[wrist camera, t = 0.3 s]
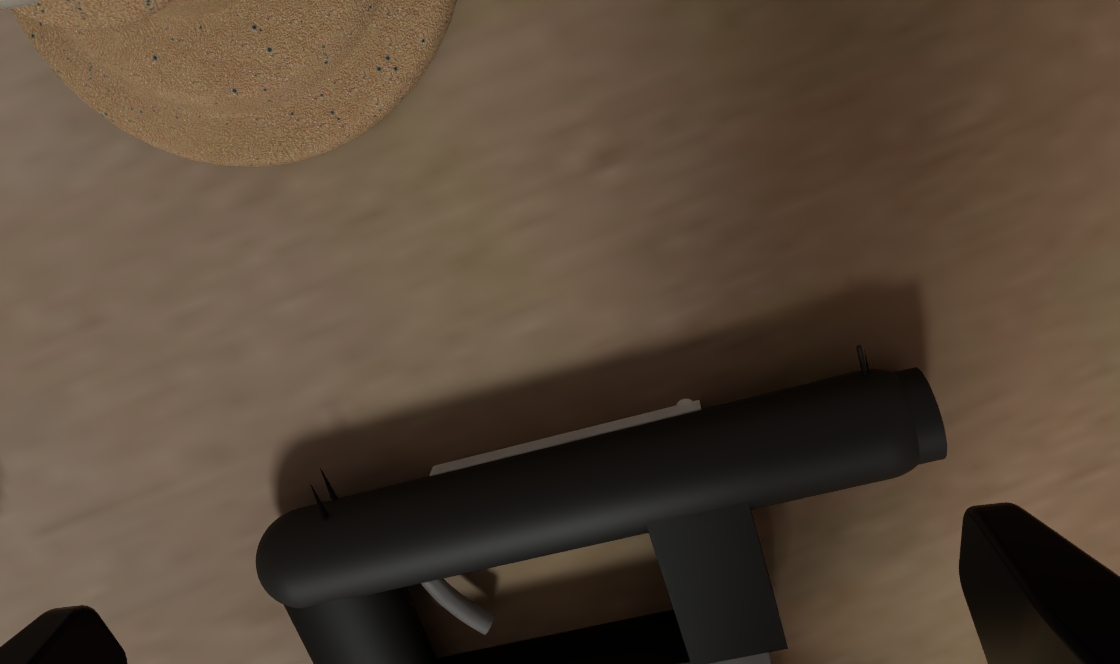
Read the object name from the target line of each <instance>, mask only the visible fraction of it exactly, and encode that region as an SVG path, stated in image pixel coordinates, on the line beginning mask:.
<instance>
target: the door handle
mask: <svg viewBox="0 0 1120 664" xmlns="http://www.w3.org/2000/svg"><path fill="white" fill-rule="evenodd" d="M857 352H858V357H859V361H860V366H861V371H857V372H853V373H849V374H845V375H841V376H837V377H833V378H828V379H824V380H820V381H816V382H812V383H808V384H804V385H800V386H796V387H792V388H788V389H784V390H780V391H776V392H771V393H767V394H763V395H759V396H755V397H751V398H747V399H743V400H739V401H735V402H731V403H727V404H723V405H719V406H714V407H710V408H706V409H702V408H701V404H700V401H699V400H696V401H692V400H690V399H682V400H680V401H679V402H678V403H677V404H676V406H672V407H668V408H664V409H660V410H656V411H652V412H648V413H644V414H640V415H636V416H632V417H628V418H624V419H620V420H616V421H612V422H608V423H604V424H600V425H596V426H592V427H588V428H584V429H580V430H576V431H571V432H567V433H563V434H559V435H555V436H551V437H547V438H543V439H539V440H535V441H531V442H527V443H523V444H519V445H515V446H511V447H507V448H503V449H499V450H495V451H491V452H487V453H483V454H479V455H475V456H471V457H467V458H463V459H459V460H455V461H451V462H447V463H443V464H439V465H435V466H433V468H432V470H431V472H430V477H425V478H421V479H417V480H413V481H409V482H405V483H401V484H397V485H393V486H389V487H385V488H381V489H377V490H373V491H368V492H364V493H360V494H356V495H352V496H348V497H344V498H340V499H338V498H337V496H336V494H335V492H334V491H333V489H332V487H331V486H330V484H329V482H328V480H327V479H326V477H325V475H324V473H323V472H322V470H321V472H322V475H323V477H324V480H325V483H326V486H327V489H328V491H329V494H330V497H331V500H332V501H328V502H324V503H322V502H321V501H320V499H319V497H318V496H317V494H316V492H315V491H314V489H313V487H312V485H311V487H312V490H313V493H314V495H315V498H316V501H317V504H316V505H311V506H307V507H303V508H299V509H296V510H292V511H290V512H288V513H286V514H284V515H282V516H281V517H279V518H278V519H277V520H275V521H274V522H273V523H272V524H271V525H270V526H269V527H268V529H267V530H266V531H265V533H264V534H263V536H262V538H261V540H260V543H259V545H258V549H257V554H256V570H257V574H258V577H259V580H260V582H261V584H262V586H263V588H264V589H265V590H266V592H267V593H268V594H269V595H270V596H271V597H272V598H274V599H275V600H276V601H278V602H280V603H282V604H284V606H285V608H286V610H287V612H288V614H289V616H290V618H291V620H292V622H293V624H294V626H295V628H296V630H297V632H298V634H299V636H300V638H301V640H302V642H303V644H304V646H305V648H306V650H307V652H308V653H309V655H310V657H311V659H312V661H313V663H314V664H711V663H714V664H773V662H772V658H771V654H770V652H773V651H778V650H783V649H788V647H787V643H786V639H785V635H784V632H783V628H782V624H781V620H780V616H779V612H778V609H777V605H776V601H775V597H774V593H773V590H772V586H771V582H770V579H769V575H768V571H767V568H766V564H765V560H764V557H763V553H762V549H761V545H760V542H759V538H758V534H757V531H756V527H755V523H754V520H753V516H752V512H751V510H752V509H757V508H761V507H766V506H770V505H775V504H779V503H784V502H788V501H793V500H797V499H802V498H806V497H811V496H815V495H820V494H824V493H829V492H833V491H838V490H842V489H846V488H851V487H855V486H860V485H864V484H869V483H873V482H878V481H882V480H887V479H891V478H895V477H898V476H901V475H903V474H905V473H907V472H909V471H911V470H912V469H913V468H915V467H916V466H917V465H918V464H923V463H927V462H932V461H936V460H941V459H944V458H945V457H946V455H947V441H946V435H945V430H944V425H943V421H942V417H941V414H940V411H939V408H938V405H937V402H936V399H935V397H934V394H933V392H932V390H931V387H930V385H929V383H928V381H927V380H926V378H925V376H924V375H923V373H922V372H921V371H920V370H919V369H918V368H916V367H914V368H910V369H906V370H902V371H898V372H894V373H893V372H890V371H886V370H878V369H869V366H868V362H867V358H866V355H865V359H866V366H867V370H866V367H865V362H864V357H863V352H862V347H861V346H860V345H858V346H857ZM864 352H865V351H864ZM320 469H321V468H320ZM644 533H649V534H650V538H651V541H652V544H653V547H654V550H655V553H656V556H657V559H658V562H659V566H660V569H661V572H662V575H663V578H664V581H665V584H666V587H667V590H668V593H669V597H670V600H671V603H672V606H673V609H674V610H671V611H666V612H661V613H656V614H651V615H646V616H642V617H637V618H632V619H627V620H622V621H617V622H612V623H607V624H603V625H598V626H593V627H588V628H583V629H578V630H573V631H569V632H564V633H559V634H554V635H549V636H544V637H539V638H534V639H530V640H525V641H520V642H515V643H510V644H505V645H500V646H496V647H491V648H486V649H481V650H476V651H471V652H466V653H461V654H457V655H452V656H447V657H442V658H436V656H435V654H434V651H433V649H432V647H431V645H430V642H429V640H428V638H427V636H426V633H425V631H424V629H423V627H422V624H421V622H420V620H419V618H418V616H417V613H416V611H415V609H414V607H413V604H412V602H411V600H410V598H409V595H408V593H407V591H406V589H405V587H406V586H411V585H415V584H420V583H421V584H422V586H423V587H424V588H425V589H426V591H427V592H428V593H429V594H430V595H431V596H432V597H433V598H434V599H435V600H436V601H437V602H438V603H439V604H440V605H441V606H443V607H444V608H445V609H446V610H447V611H449V612H450V613H451V614H452V615H454V616H455V617H456V618H458V619H459V620H461V621H462V622H464V623H465V624H467V625H468V626H470V627H472V628H473V629H475V630H477V631H478V632H480V633H482V634H484V635H485V634H486V633H487V632H488V631H489V629H490V627H491V625H492V623H493V620H494V616H495V615H494V614H492V613H490V612H488V611H486V610H485V609H483V608H481V607H480V606H478V605H476V604H475V603H473V602H472V601H470V600H469V599H467V598H466V597H465V596H463V595H462V594H461V593H459V592H458V591H457V590H456V589H454V588H453V587H452V586H451V585H450V584H449V583H447V582H446V581H445V580H444V579H443V578H447V577H451V576H456V575H460V574H465V573H469V572H474V571H478V570H483V569H487V568H492V567H496V566H501V565H505V564H510V563H514V562H519V561H523V560H528V559H532V558H537V557H541V556H546V555H550V554H555V553H559V552H564V551H568V550H573V549H577V548H582V547H586V546H591V545H595V544H600V543H604V542H609V541H613V540H617V539H622V538H626V537H631V536H635V535H640V534H644Z"/></svg>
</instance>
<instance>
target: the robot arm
mask: <svg viewBox="0 0 1120 664" xmlns="http://www.w3.org/2000/svg"><path fill="white" fill-rule="evenodd" d="M959 576H960V582H961V586H962V590H963V593H964V596H965V599H966V602H967V605H968V607H969V610H970V613H971V616H972V619H973V622H974V625H975V628H976V631H977V633H978V636H979V639H980V642H981V645H982V648H983V651H984V654H985V657H986V659H987V662H988V664H1120V576H1118V575H1117V574H1115V573H1114V572H1113V571H1111V570H1110V569H1108V568H1107V567H1105V566H1104V565H1103V564H1101V563H1100V562H1098V561H1097V560H1095V559H1094V558H1092V557H1091V556H1090V555H1088V554H1087V553H1085V552H1084V551H1082V550H1081V549H1080V548H1078V547H1077V546H1075V545H1074V544H1072V543H1071V542H1070V541H1068V540H1067V539H1065V538H1064V537H1062V536H1061V535H1060V534H1058V533H1057V532H1055V531H1054V530H1052V529H1051V528H1050V527H1048V526H1047V525H1045V524H1044V523H1042V522H1041V521H1040V520H1038V519H1037V518H1035V517H1034V516H1032V515H1031V514H1030V513H1028V512H1027V511H1025V510H1024V509H1022V508H1021V507H1019V506H1017V505H1015V504H1012V503H996V504H987V505H978V506H972V507H970V508H968V509H967V510H966V512H965V514H964V517H963V525H962V536H961V548H960V559H959ZM0 664H127V658H126V654H125V652H124V650H123V648H122V647H121V645H120V644H119V643H118V641H117V640H116V638H115V637H114V636H113V634H112V633H111V631H110V630H109V629H108V627H107V626H106V624H105V623H104V622H103V620H102V619H101V617H100V616H99V614H98V613H97V612H96V611H95V610H94V609H93V608H91V607H89V606H84V605H80V606H71V607H62V608H55V609H52V610H49V611H47V612H45V613H43V614H42V615H40V616H39V617H38V618H37V619H35V620H34V621H33V622H32V623H30V624H29V625H28V626H26V627H25V628H24V629H23V630H21V631H20V632H19V633H18V634H16V635H15V636H14V637H13V638H11V639H10V640H9V641H7V642H6V643H5V644H4V645H2V646H1V647H0Z"/></svg>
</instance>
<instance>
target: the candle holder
mask: <svg viewBox="0 0 1120 664" xmlns="http://www.w3.org/2000/svg"><path fill="white" fill-rule="evenodd" d="M456 1H457V0H0V10H2V9H8V8H11V10H12V12H13V14H14V15H15V17H16V18H17V20H18V22H19V23H20V25H21V27H22V28H23V30H24V31H25V33H26V35H27V36H28V38H29V40H30V41H31V43H32V44H33V46H34V47H35V49H36V50H37V51H38V52H39V54H40V55H41V56H42V57H43V58H44V60H45V61H46V62H47V63H48V65H49V66H50V67H51V68H52V70H53V71H54V72H55V73H56V75H57V76H58V77H59V78H60V79H61V80H62V81H63V82H64V83H65V84H66V85H67V86H68V87H69V88H70V89H71V90H72V91H73V92H75V93H76V94H77V95H78V96H79V97H80V98H81V99H82V100H83V101H84V102H85V103H86V104H87V105H88V106H90V107H91V108H93V109H94V110H95V111H97V112H98V113H99V114H101V115H102V116H104V117H105V118H106V119H108V120H109V121H110V122H112V123H113V124H115V125H116V126H117V127H119V128H120V129H122V130H124V131H126V132H128V133H129V134H131V135H133V136H135V137H137V138H139V139H141V140H143V141H145V142H146V143H148V144H150V145H152V146H154V147H156V148H159V149H162V150H165V151H168V152H170V153H173V154H176V155H179V156H182V157H184V158H187V159H191V160H196V161H201V162H207V163H212V164H217V165H223V166H252V167H265V166H272V165H279V164H286V163H293V162H298V161H302V160H305V159H308V158H311V157H314V156H317V155H320V154H323V153H326V152H330V151H331V150H333V149H335V148H337V147H339V146H341V145H343V144H345V143H347V142H349V141H350V140H352V139H354V138H356V137H358V136H360V135H362V134H363V133H365V132H366V131H367V130H369V129H370V128H371V127H373V126H374V125H375V124H376V123H378V122H379V121H380V120H382V119H383V118H384V117H386V116H387V115H388V114H389V113H391V112H392V111H393V109H394V108H395V107H396V106H397V105H398V104H399V103H400V102H401V101H402V100H403V99H404V98H405V96H406V95H407V94H408V93H409V92H410V91H411V90H412V89H413V88H414V87H415V85H416V84H417V82H418V81H419V79H420V78H421V76H422V75H423V73H424V72H425V70H426V69H427V67H428V66H429V64H430V63H431V61H432V60H433V58H434V56H435V55H436V53H437V50H438V48H439V46H440V44H441V41H442V39H443V37H444V35H445V33H446V30H447V28H448V26H449V24H450V22H451V19H452V15H453V12H454V8H455V4H456Z"/></svg>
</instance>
